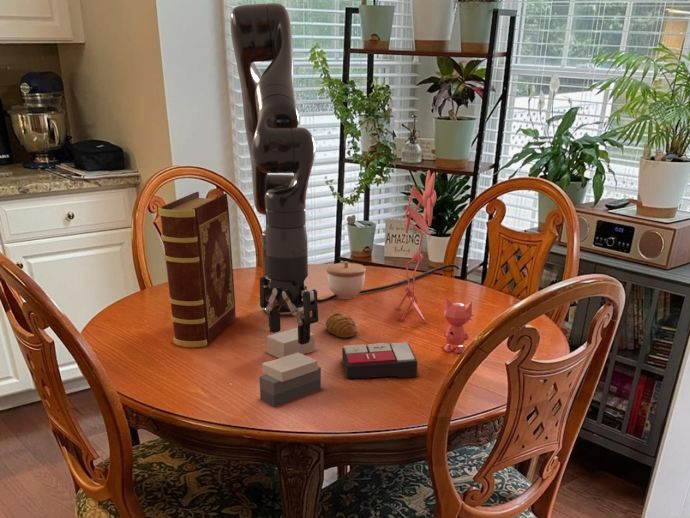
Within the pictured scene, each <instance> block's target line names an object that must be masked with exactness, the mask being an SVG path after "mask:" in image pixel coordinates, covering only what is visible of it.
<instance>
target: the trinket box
mask: <svg viewBox="0 0 690 518" xmlns="http://www.w3.org/2000/svg"><path fill="white" fill-rule="evenodd" d="M366 271H367V270H366V266H364V265H361V264H359V263H353V262H352V263H351V262H349V261H344V262H338V263H333V264H332V263H331V264H329V265H327V267H326V279H327V285H328V289H329V290H330V292H331V293H332V294H333V295H337V296H338V297H336V298H337V299H341V300H350V299H351V300H352V299H355V298H357V297H358V295H360V294H359V293H360V291H362V290H363V288H364V286H365V280H366Z"/></svg>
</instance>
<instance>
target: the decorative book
mask: <svg viewBox="0 0 690 518" xmlns="http://www.w3.org/2000/svg"><path fill="white" fill-rule="evenodd" d="M157 213H158V216H160V223H161V233H162V234H160V237H161V241H163V248H164V254H163V255H162V256H163V260H164V261H165V267H166V275H167V285H168V291H169V297H168V303H169V304H170V308H171V309H170V311H171V315H170V321H171V322H172V326H173V334H174V336H172V339H173V340H172V341H173V344H174V345H176V346H178V347H182V348H190V349H191V348H203V347H206V346H207V345H208V344H209V343H210V342H211V341H212V340H214V338H216V337H217V336H218V335H219V334H220V333H222V331H223V330H224V329H226V328H227V327H228V326H229V325H230V324H231V323H233V321H234V320H235V319H236V296H235V295H236V294H235V282H234V281H235V279H234V268H233V266H234V265H233V252H232V251H233V250H232V239H231V237H232V236H231V224H230V210H229V201H228V194H227V192H225V193H223V194H221V195H220V196H218V197H216V198H209V197H208V198H205V197H200V192H199V191H196V192H192V193H190V194H188V195H186V196H183V197H181V198H179V199H176V200H174V201H171V202H169V203H166V204H165V205H163V206H158V207H157Z"/></svg>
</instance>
